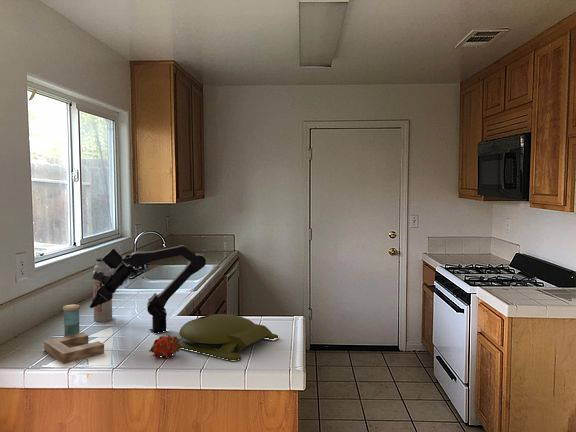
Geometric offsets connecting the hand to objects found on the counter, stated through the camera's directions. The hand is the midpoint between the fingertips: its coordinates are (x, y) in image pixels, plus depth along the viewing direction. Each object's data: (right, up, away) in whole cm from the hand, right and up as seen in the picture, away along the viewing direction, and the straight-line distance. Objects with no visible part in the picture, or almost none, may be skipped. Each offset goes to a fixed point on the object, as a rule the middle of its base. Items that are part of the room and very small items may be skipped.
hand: (91, 304), depth 200 cm
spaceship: (+54, -15, -5) cm, 56 cm away
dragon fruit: (+35, -15, -22) cm, 44 cm away
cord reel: (-7, -13, -1) cm, 15 cm away
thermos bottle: (-5, -12, +26) cm, 29 cm away
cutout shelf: (0, -15, -17) cm, 22 cm away
